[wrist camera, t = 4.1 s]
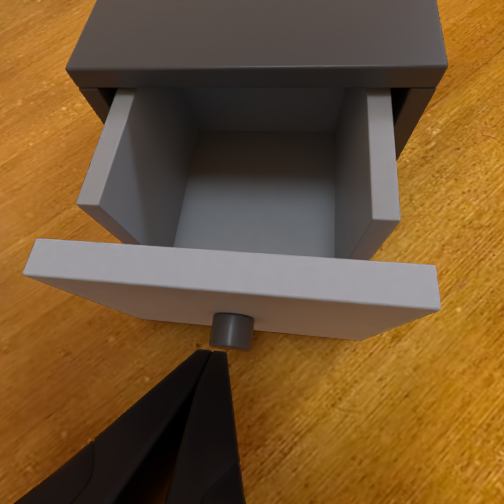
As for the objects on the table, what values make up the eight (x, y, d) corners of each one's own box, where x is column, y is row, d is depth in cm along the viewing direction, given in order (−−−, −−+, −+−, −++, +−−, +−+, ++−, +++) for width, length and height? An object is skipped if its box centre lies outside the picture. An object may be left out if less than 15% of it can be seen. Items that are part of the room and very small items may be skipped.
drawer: (362, 367, 14) (448, 363, 7) (132, 342, 15) (3, 316, 8) (357, 136, 19) (403, -9, 12) (183, 133, 20) (129, 2, 13)
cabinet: (365, 218, 18) (449, 65, 9) (163, 207, 19) (63, 68, 10) (360, 58, 23) (411, -143, 14) (198, 60, 24) (151, -120, 15)
